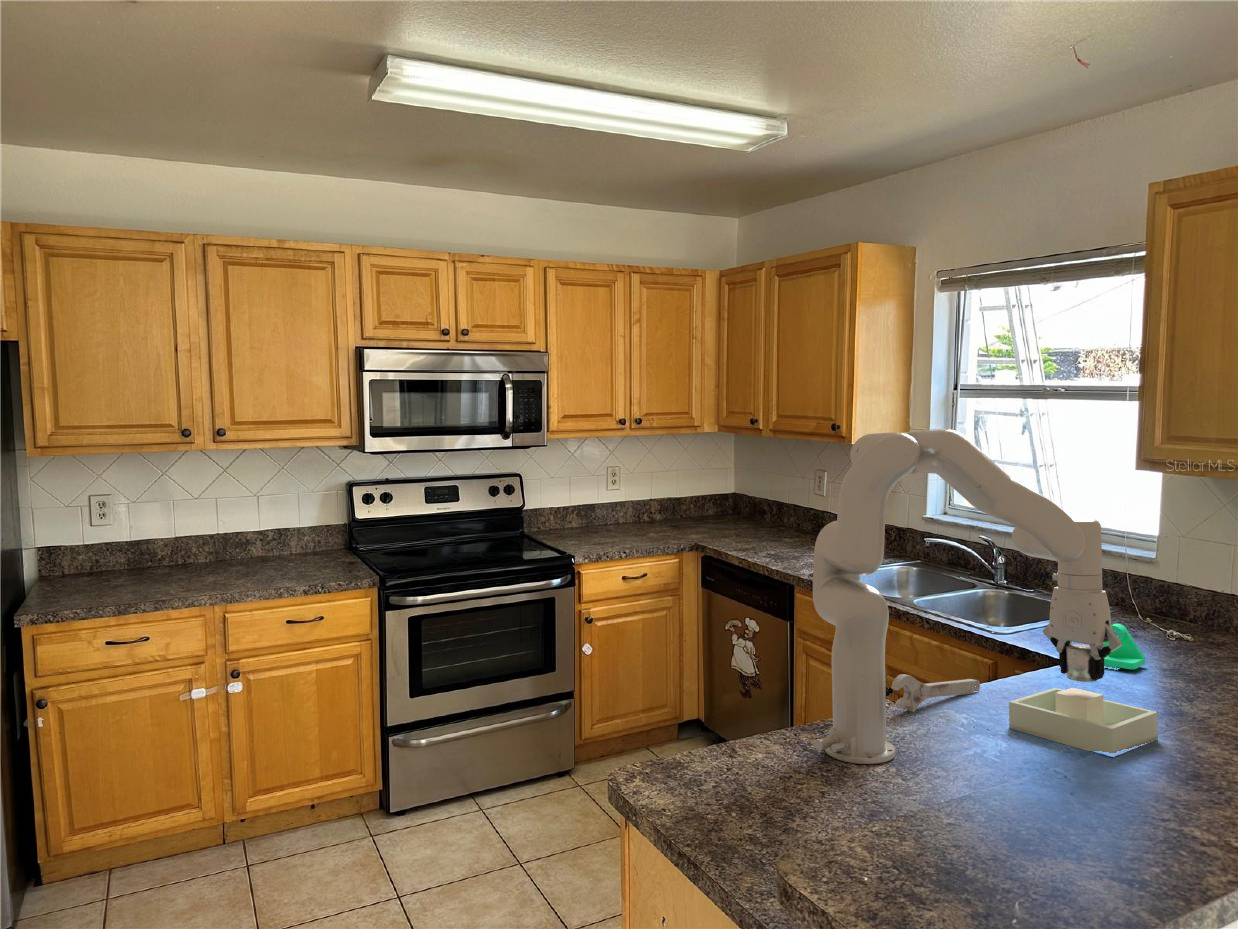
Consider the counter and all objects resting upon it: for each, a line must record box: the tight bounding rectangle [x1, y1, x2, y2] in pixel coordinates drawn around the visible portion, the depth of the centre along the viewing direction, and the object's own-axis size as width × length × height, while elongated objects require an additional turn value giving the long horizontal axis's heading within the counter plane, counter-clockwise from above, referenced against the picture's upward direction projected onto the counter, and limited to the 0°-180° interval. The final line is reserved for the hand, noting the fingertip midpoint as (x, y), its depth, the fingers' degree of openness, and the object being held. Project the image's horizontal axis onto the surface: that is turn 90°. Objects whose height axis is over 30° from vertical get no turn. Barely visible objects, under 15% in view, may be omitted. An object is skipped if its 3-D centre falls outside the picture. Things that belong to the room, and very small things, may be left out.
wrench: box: [891, 673, 981, 713], centre depth 185 cm, size 8×2×30 cm
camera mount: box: [1103, 623, 1146, 670], centre depth 211 cm, size 12×8×10 cm, turn 40°
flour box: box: [1055, 687, 1104, 725], centre depth 164 cm, size 6×6×7 cm
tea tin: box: [1066, 643, 1098, 683], centre depth 164 cm, size 5×5×6 cm
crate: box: [1008, 687, 1159, 753], centre depth 164 cm, size 16×20×5 cm
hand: (1081, 674), depth 164 cm, fingers closed on tea tin, 5 cm apart
